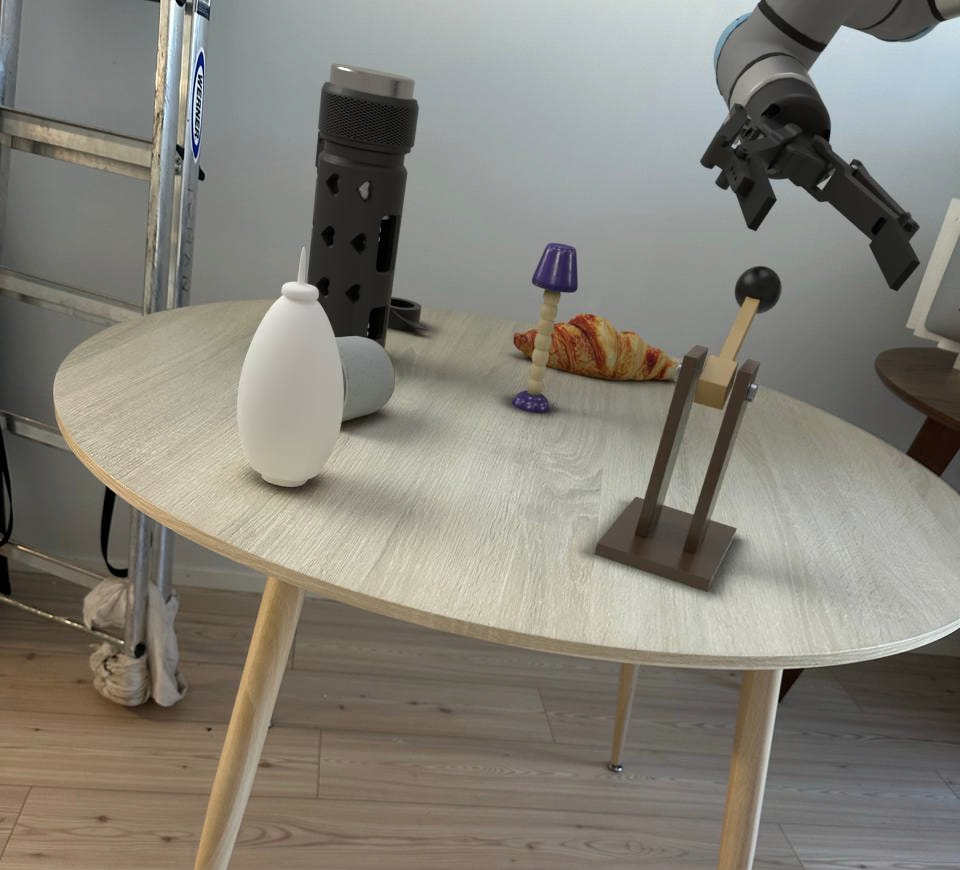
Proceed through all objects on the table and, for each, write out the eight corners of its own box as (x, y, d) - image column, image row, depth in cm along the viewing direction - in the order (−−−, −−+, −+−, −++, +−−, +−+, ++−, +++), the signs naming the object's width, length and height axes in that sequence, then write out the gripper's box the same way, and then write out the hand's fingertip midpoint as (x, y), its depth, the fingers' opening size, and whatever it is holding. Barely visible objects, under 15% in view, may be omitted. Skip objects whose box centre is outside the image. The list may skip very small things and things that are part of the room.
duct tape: (424, 321, 133) (428, 298, 131) (426, 342, 124) (430, 318, 123) (365, 311, 131) (368, 288, 130) (363, 332, 123) (366, 307, 121)
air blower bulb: (315, 513, 77) (340, 268, 68) (217, 489, 78) (229, 242, 68) (346, 478, 84) (372, 250, 75) (255, 456, 84) (270, 228, 75)
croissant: (660, 402, 132) (668, 340, 132) (691, 388, 122) (700, 321, 122) (501, 376, 128) (509, 311, 127) (520, 359, 118) (528, 290, 117)
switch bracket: (631, 511, 89) (681, 329, 81) (732, 542, 87) (793, 359, 79) (592, 559, 79) (645, 357, 71) (705, 596, 77) (772, 392, 69)
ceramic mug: (396, 420, 98) (406, 340, 94) (343, 437, 91) (351, 352, 88) (310, 389, 102) (316, 311, 98) (253, 403, 95) (258, 320, 92)
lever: (738, 288, 84) (746, 251, 81) (781, 300, 83) (791, 262, 80) (683, 405, 77) (690, 370, 74) (729, 419, 76) (738, 383, 73)
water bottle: (274, 349, 110) (349, 378, 107) (296, 56, 96) (383, 77, 93) (329, 338, 118) (402, 365, 114) (357, 65, 104) (441, 84, 100)
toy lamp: (498, 402, 108) (529, 238, 100) (529, 399, 111) (561, 239, 103) (529, 418, 106) (564, 251, 97) (560, 414, 109) (596, 252, 100)
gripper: (863, 207, 99) (927, 336, 86) (638, 105, 91) (671, 230, 78) (916, 134, 94) (994, 260, 80) (683, 20, 86) (726, 138, 72)
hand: (835, 246), depth 79 cm, fingers open, 13 cm apart
